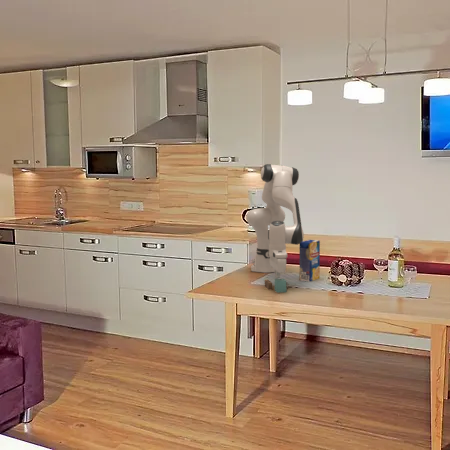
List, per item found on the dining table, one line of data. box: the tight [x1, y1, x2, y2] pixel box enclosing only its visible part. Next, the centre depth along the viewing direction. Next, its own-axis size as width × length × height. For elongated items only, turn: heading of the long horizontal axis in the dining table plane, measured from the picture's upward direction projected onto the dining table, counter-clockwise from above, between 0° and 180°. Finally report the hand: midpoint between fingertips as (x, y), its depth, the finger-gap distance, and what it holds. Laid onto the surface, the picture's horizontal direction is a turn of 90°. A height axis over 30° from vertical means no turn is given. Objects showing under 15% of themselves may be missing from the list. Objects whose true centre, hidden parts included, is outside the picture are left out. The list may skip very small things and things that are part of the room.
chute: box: [264, 279, 288, 291], centre depth 309 cm, size 9×10×4 cm
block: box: [274, 278, 287, 293], centre depth 300 cm, size 5×5×6 cm
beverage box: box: [299, 239, 321, 282], centre depth 327 cm, size 7×11×22 cm, turn 141°
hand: (277, 277), depth 304 cm, fingers closed
